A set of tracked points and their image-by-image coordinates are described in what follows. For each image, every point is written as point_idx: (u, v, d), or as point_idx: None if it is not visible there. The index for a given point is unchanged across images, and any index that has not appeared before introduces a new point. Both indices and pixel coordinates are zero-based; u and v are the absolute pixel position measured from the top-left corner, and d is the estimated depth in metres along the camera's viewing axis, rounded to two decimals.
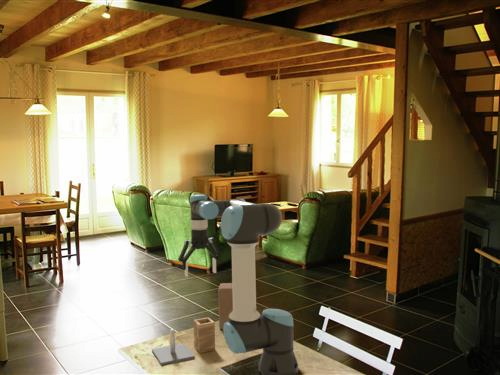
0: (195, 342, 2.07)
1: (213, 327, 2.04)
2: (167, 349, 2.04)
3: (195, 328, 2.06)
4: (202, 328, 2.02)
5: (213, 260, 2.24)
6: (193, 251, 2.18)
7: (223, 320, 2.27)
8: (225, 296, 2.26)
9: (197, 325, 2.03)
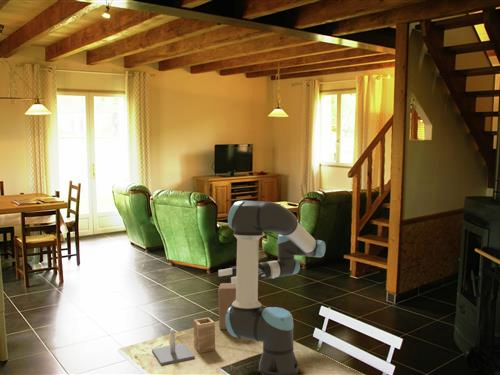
0: (195, 342, 2.07)
1: (213, 327, 2.04)
2: (167, 349, 2.04)
3: (195, 328, 2.06)
4: (202, 328, 2.02)
5: None
6: None
7: (223, 320, 2.27)
8: (225, 296, 2.26)
9: (197, 325, 2.03)
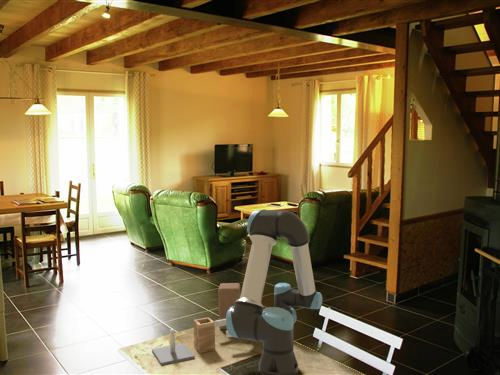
0: (195, 342, 2.07)
1: (213, 327, 2.04)
2: (167, 349, 2.04)
3: (195, 328, 2.06)
4: (202, 328, 2.02)
5: None
6: None
7: None
8: (225, 296, 2.26)
9: (197, 325, 2.03)
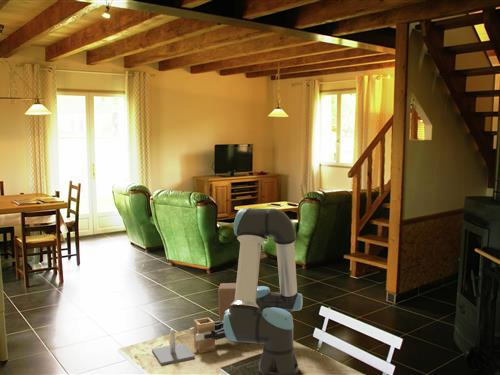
0: (195, 342, 2.07)
1: (213, 327, 2.04)
2: (167, 349, 2.04)
3: (195, 328, 2.06)
4: (202, 328, 2.02)
5: None
6: (218, 325, 2.12)
7: None
8: (225, 296, 2.26)
9: (197, 325, 2.03)
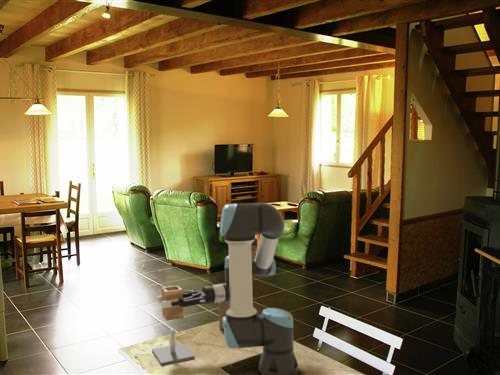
0: (163, 310, 2.00)
1: (181, 294, 1.98)
2: (167, 349, 2.04)
3: (163, 296, 1.99)
4: (169, 295, 1.96)
5: None
6: (187, 293, 2.05)
7: None
8: None
9: (164, 292, 1.97)
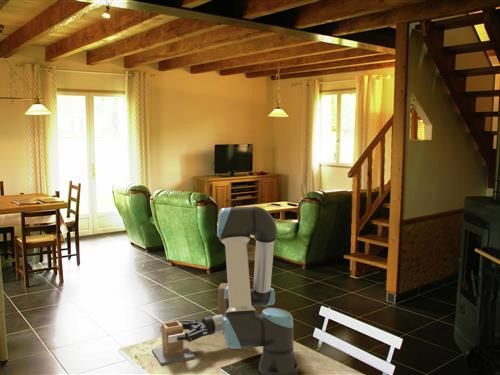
0: (163, 346, 2.01)
1: (181, 330, 1.98)
2: None
3: (163, 332, 2.00)
4: (169, 332, 1.96)
5: None
6: (187, 323, 2.07)
7: None
8: None
9: (165, 328, 1.97)
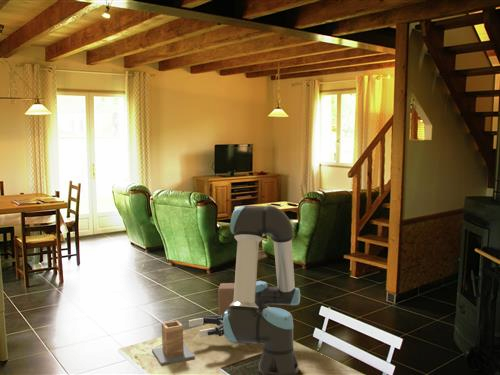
0: (163, 346, 2.01)
1: (181, 330, 1.98)
2: None
3: (163, 332, 2.00)
4: (169, 332, 1.96)
5: None
6: (215, 318, 2.12)
7: None
8: (225, 296, 2.26)
9: (165, 328, 1.97)
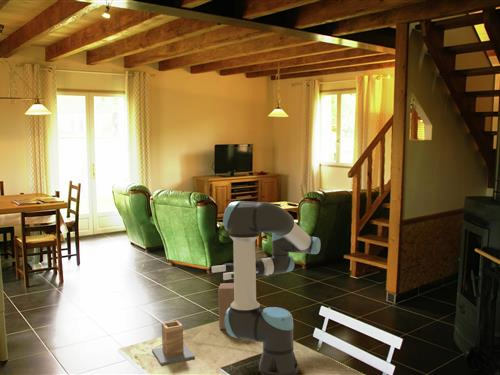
0: (163, 346, 2.01)
1: (181, 330, 1.98)
2: None
3: (163, 332, 2.00)
4: (169, 332, 1.96)
5: None
6: None
7: (223, 320, 2.27)
8: (225, 296, 2.26)
9: (165, 328, 1.97)
